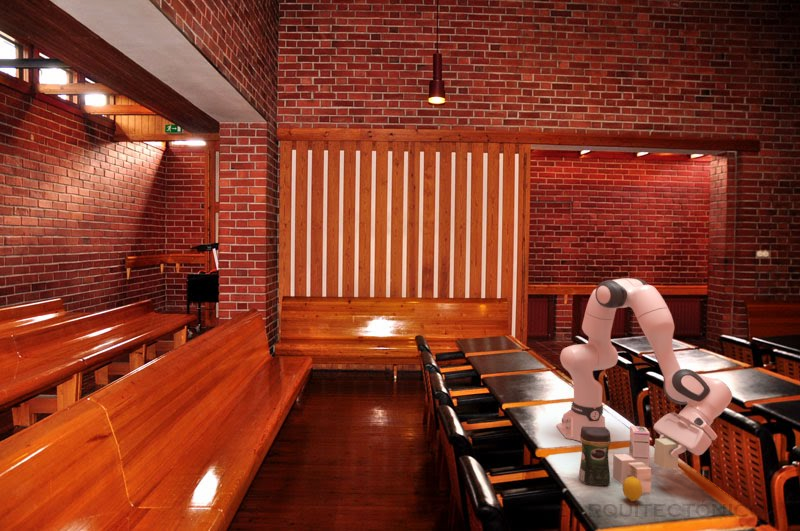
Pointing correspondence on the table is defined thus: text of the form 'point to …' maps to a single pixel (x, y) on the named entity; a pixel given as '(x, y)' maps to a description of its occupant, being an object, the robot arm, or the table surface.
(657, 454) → the beige rectangular block
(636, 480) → the lemon
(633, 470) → the pink tall block
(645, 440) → the syrup box
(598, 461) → the coffee jar
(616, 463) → the pink rectangular block
